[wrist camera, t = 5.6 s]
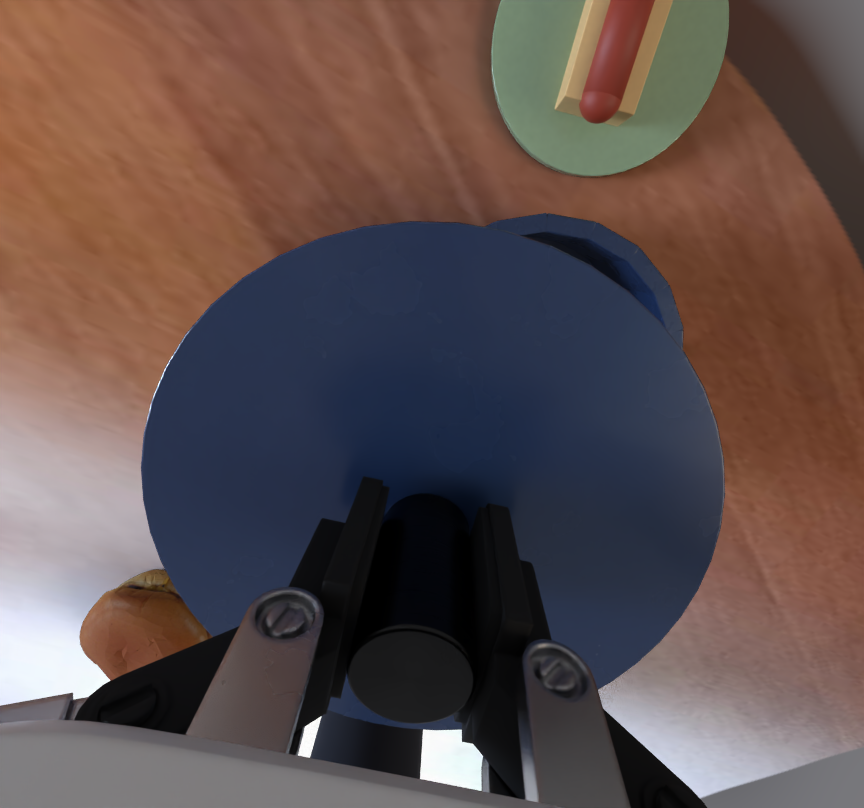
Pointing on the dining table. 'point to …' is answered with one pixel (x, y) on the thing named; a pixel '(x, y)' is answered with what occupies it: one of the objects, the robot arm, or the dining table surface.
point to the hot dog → (611, 58)
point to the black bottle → (368, 745)
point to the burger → (139, 625)
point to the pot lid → (436, 450)
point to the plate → (572, 135)
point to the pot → (604, 259)
